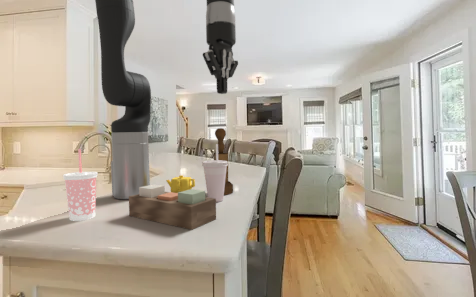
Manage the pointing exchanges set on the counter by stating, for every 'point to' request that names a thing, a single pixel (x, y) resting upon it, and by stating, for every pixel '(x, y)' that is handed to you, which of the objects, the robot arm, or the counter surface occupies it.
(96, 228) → the counter surface
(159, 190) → the offwhite key
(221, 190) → the smoothie
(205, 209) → the key panel
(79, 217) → the beverage cup
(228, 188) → the mortar and pestle
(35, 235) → the counter surface
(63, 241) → the counter surface
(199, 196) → the sage key
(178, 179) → the teapot
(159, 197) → the terracotta key
